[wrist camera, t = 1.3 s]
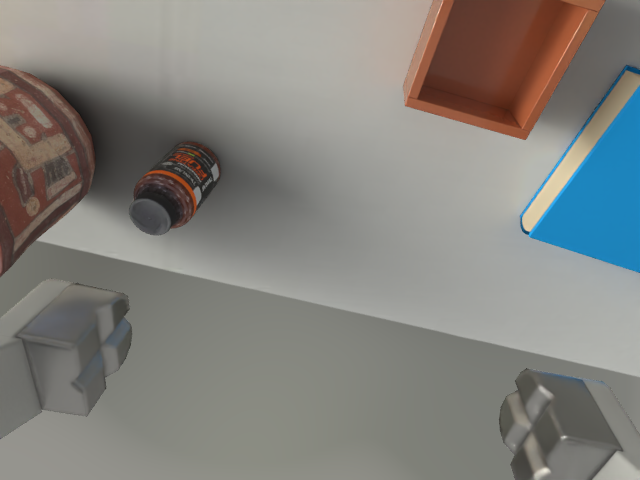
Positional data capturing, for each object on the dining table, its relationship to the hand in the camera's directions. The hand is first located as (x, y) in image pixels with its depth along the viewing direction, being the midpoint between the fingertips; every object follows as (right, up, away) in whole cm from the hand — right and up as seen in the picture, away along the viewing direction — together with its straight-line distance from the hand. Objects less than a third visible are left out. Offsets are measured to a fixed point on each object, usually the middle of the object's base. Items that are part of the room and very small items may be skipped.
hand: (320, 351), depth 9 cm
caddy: (+14, +19, +28) cm, 36 cm away
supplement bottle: (-14, +11, +39) cm, 42 cm away
